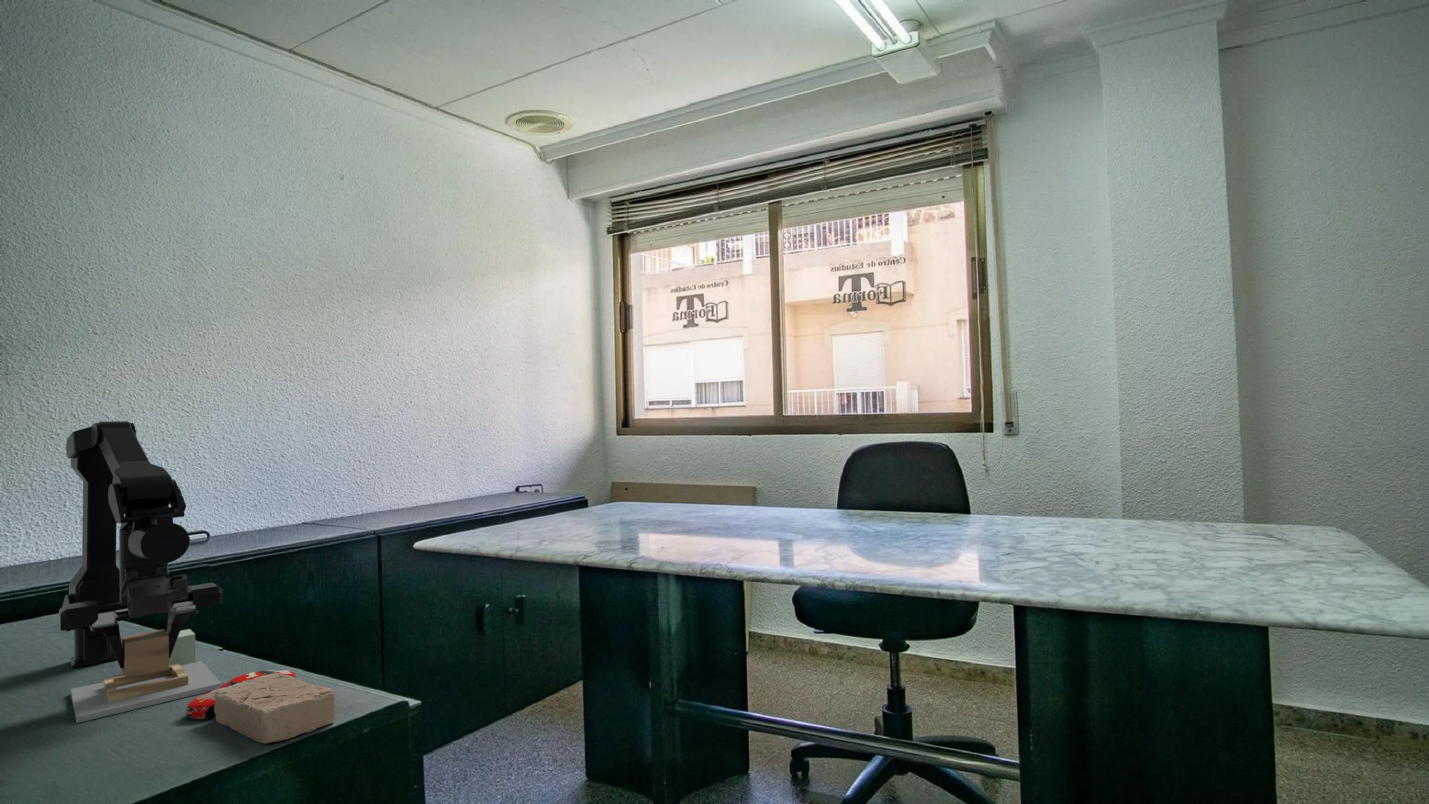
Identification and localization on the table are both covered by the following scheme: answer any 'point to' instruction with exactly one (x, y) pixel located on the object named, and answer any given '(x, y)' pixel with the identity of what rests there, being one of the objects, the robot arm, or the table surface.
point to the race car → (206, 702)
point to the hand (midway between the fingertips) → (145, 663)
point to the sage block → (184, 649)
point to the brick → (274, 707)
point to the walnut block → (145, 653)
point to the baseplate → (141, 690)
